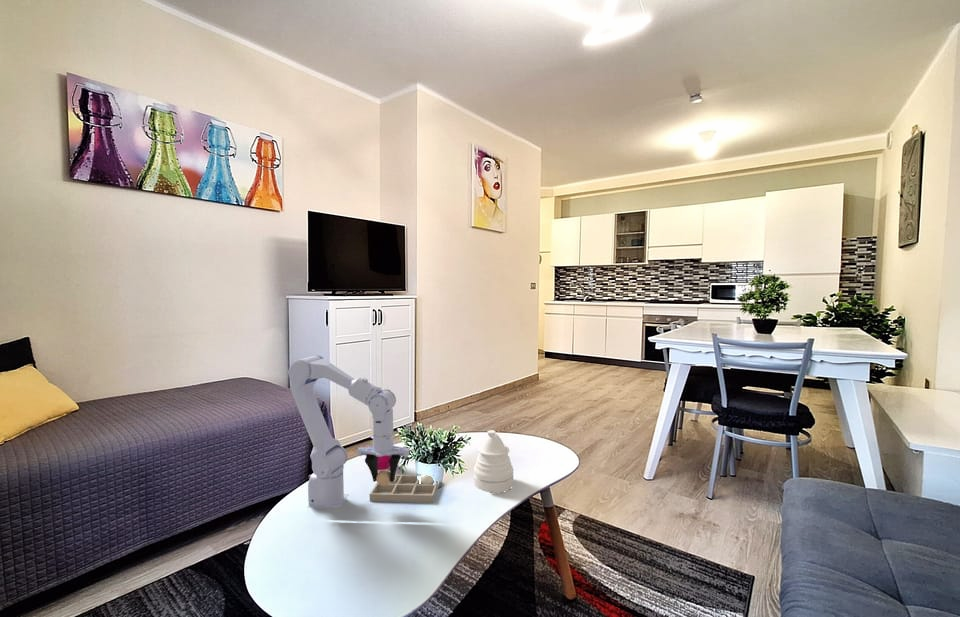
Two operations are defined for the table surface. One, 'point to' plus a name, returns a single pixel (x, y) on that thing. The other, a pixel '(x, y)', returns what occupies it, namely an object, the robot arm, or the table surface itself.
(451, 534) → the table surface
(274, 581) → the table surface
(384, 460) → the pepper mill
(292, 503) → the table surface
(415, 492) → the carton
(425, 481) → the cream egg right
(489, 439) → the honey pot
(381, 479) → the tan orange ball
